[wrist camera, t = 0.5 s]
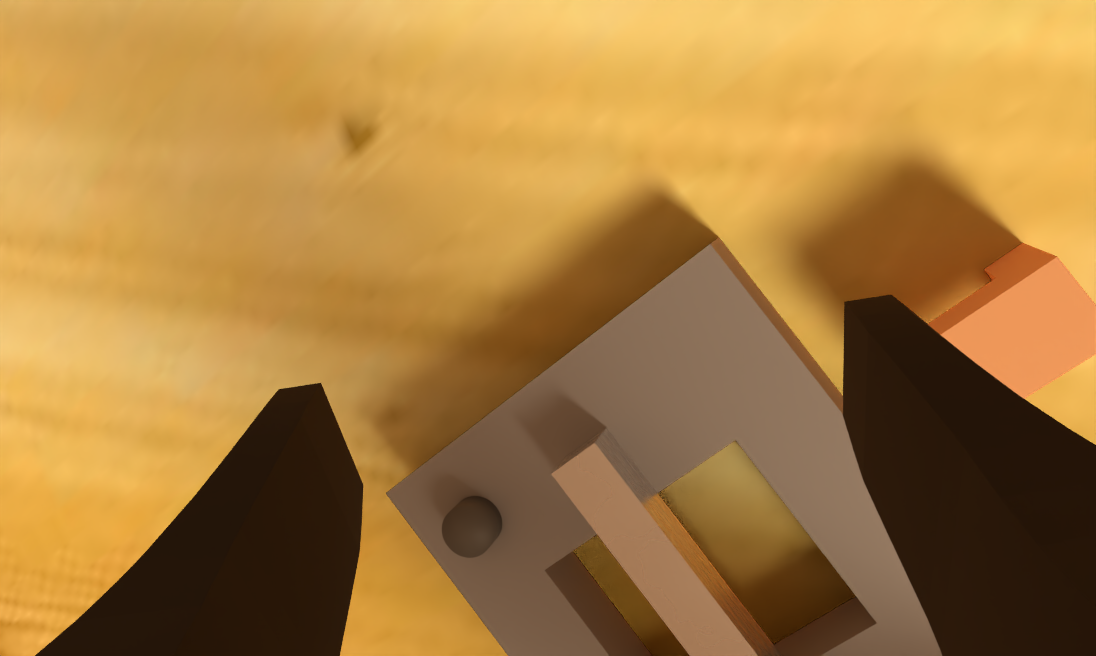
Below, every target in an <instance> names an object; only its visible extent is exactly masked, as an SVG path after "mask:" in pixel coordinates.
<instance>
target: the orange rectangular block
mask: <svg viewBox="0 0 1096 656" xmlns="http://www.w3.org/2000/svg"><path fill="white" fill-rule="evenodd" d="M984 270H985V272H986V273H987V274H988V275H989V277H990V278H991V279H992V281H991V282H989V283H988V284H986V285H985V286H984V287H982V288H981V289H979V290H978V291H976V292H975V293H973V294H972V295H970V296H969V297H967V298H966V299H964V300H963V301H961V302H960V303H958V304H957V305H955V306H954V307H952V308H951V309H949V310H948V311H946V312H945V313H944V314H942V315H941V316H939V317H938V318H936V319H935V320H933V321H932V322H930V323H929V324H928V325H929V326H930V327H932V328H933V329H934V330H935V331H937V332H938V333H939V334H940V335H941V336H943V337H944V338H945V339H946V340H948V341H949V342H950V343H951V344H953V345H954V346H955V347H956V348H957V349H959V350H960V351H961V352H962V353H964V354H965V355H966V356H968V357H969V358H970V359H971V360H973V361H974V362H975V363H976V364H978V365H979V366H980V367H982V368H983V369H984V370H986V371H987V372H988V373H990V374H991V375H992V376H994V377H995V378H996V379H998V380H999V381H1000V382H1002V383H1003V384H1004V385H1006V386H1007V387H1008V388H1010V389H1011V390H1012V391H1014V392H1015V393H1017V394H1018V395H1019V396H1021V397H1022V398H1024V399H1025V398H1026V397H1028V396H1029V395H1031V394H1033V393H1034V392H1036V391H1037V390H1039V389H1041V388H1042V387H1044V386H1045V385H1047V384H1049V383H1050V382H1052V381H1053V380H1055V379H1057V378H1058V377H1060V376H1061V375H1063V374H1065V373H1066V372H1068V371H1069V370H1071V369H1073V368H1074V367H1076V366H1077V365H1079V364H1081V363H1082V362H1084V361H1085V360H1087V359H1089V358H1090V357H1092V356H1093V355H1095V354H1096V305H1095V303H1094V302H1093V301H1092V300H1091V298H1090V297H1089V296H1088V295H1087V293H1086V292H1085V291H1084V290H1083V288H1082V287H1081V286H1080V285H1079V283H1078V282H1077V281H1076V280H1075V278H1074V277H1073V276H1072V274H1071V273H1070V272H1069V271H1068V269H1067V268H1066V267H1065V266H1064V264H1063V263H1062V262H1061V261H1060V259H1059V258H1058V257H1057V256H1054V255H1052V254H1049V253H1047V252H1044V251H1042V250H1039V249H1037V248H1034V247H1032V246H1029V245H1027V244H1024V243H1022V244H1020V245H1019V246H1017V247H1016V248H1014V249H1013V250H1012V251H1010V252H1009V253H1007V254H1006V255H1004V256H1003V257H1001V258H1000V259H998V260H997V261H995V262H994V263H992V264H991V265H990V266H988V267H987V268H985V269H984Z"/></svg>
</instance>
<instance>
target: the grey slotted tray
mask: <svg viewBox="0 0 1096 656" xmlns="http://www.w3.org/2000/svg"><path fill="white" fill-rule="evenodd" d="M735 440H736V441H737V443H738V444H739V445H740V447H741V448H742V449H743V451H744V452H745V453H746V454H747V456H748V457H749V458H750V460H751V461H752V462H753V463H754V465H755V466H756V467H757V469H758V470H759V471H760V473H761V474H762V475H763V476H764V478H765V479H766V480H767V482H768V483H769V484H770V485H771V487H772V488H773V489H774V491H775V492H776V493H777V495H778V496H779V497H780V498H781V500H782V501H783V502H784V504H785V505H786V506H787V507H788V509H789V510H790V511H791V513H792V514H793V515H794V517H795V518H796V519H797V520H798V522H799V523H800V524H801V526H802V527H803V528H804V529H805V531H806V532H807V533H808V535H809V536H810V537H811V539H812V540H813V541H814V542H815V544H816V545H817V546H818V548H819V549H820V550H821V551H822V553H823V554H824V555H825V557H826V558H827V559H828V561H829V562H830V563H831V564H832V566H833V567H834V568H835V570H836V571H837V572H838V573H839V575H840V576H841V577H842V579H843V580H844V581H845V583H846V584H847V585H848V586H849V588H850V589H851V590H852V592H853V593H854V594H855V595H856V597H854V598H852V599H851V600H849V601H847V602H846V603H844V604H842V605H841V606H839V607H837V608H835V609H834V610H832V611H830V612H829V613H827V614H825V615H824V616H822V617H820V618H818V619H817V620H815V621H813V622H812V623H810V624H808V625H806V626H805V627H803V628H801V629H800V630H798V631H796V632H795V633H793V634H791V635H789V636H788V637H786V638H784V639H783V640H781V641H779V642H778V643H776V644H773V643H772V642H771V641H770V639H769V638H768V637H767V635H766V634H765V633H764V631H763V630H762V629H761V628H760V626H759V625H758V624H757V622H756V621H755V620H754V618H753V617H752V616H751V615H750V613H749V612H748V611H747V609H746V608H745V607H744V605H743V604H742V603H741V601H740V600H739V599H738V598H737V596H736V595H735V594H734V592H733V591H732V590H731V588H730V587H729V586H728V585H727V583H726V582H725V581H724V579H723V578H722V577H721V575H720V574H719V573H718V572H717V570H716V569H715V568H714V566H713V565H712V564H711V562H710V561H709V560H708V558H707V557H706V556H705V555H704V553H703V552H702V551H701V549H700V548H699V547H698V545H697V544H696V543H695V542H694V540H693V539H692V538H691V536H690V535H689V534H688V532H687V531H686V530H685V528H684V527H683V526H682V525H681V523H680V522H679V521H678V519H677V518H676V517H675V515H674V514H673V513H672V512H671V510H670V509H669V508H668V506H667V505H666V504H665V502H664V501H663V500H662V499H661V497H660V496H659V495H658V493H659V492H660V491H661V490H663V489H664V488H666V487H667V486H669V485H670V484H672V483H673V482H675V481H676V480H678V479H679V478H681V477H682V476H683V475H685V474H686V473H688V472H689V471H691V470H692V469H694V468H695V467H697V466H698V465H700V464H701V463H703V462H704V461H706V460H707V459H708V458H710V457H711V456H713V455H714V454H716V453H717V452H719V451H720V450H722V449H723V448H725V447H726V446H728V445H729V444H731V443H732V442H733V441H735ZM386 494H387V496H388V497H389V498H390V500H391V501H392V502H393V504H394V505H395V506H396V508H397V509H398V510H399V512H400V513H401V514H402V516H403V517H404V518H405V520H406V521H407V522H408V524H409V525H410V526H411V528H412V529H413V530H414V531H415V533H416V534H417V535H418V537H419V538H420V539H421V541H422V542H423V543H424V545H425V546H426V547H427V549H428V550H429V551H430V553H431V554H432V555H433V557H434V558H435V559H436V561H437V562H438V563H439V565H440V566H441V567H442V569H443V570H444V571H445V573H446V574H447V575H448V577H449V578H450V579H451V580H452V582H453V583H454V584H455V586H456V587H457V588H458V590H459V591H460V592H461V594H462V595H463V596H464V598H465V599H466V600H467V602H468V603H469V604H470V606H471V607H472V608H473V610H474V611H475V612H476V614H477V615H478V616H479V618H480V619H481V620H482V622H483V623H484V624H485V626H486V627H487V628H488V630H489V631H490V632H491V633H492V635H493V636H494V637H495V639H496V640H497V641H498V643H499V644H500V645H501V647H502V648H503V649H504V651H505V652H506V653H507V655H508V656H652V655H651V654H650V652H649V651H648V650H647V648H646V647H645V646H644V644H643V643H642V642H641V641H640V639H639V638H638V637H637V635H636V634H635V633H634V631H633V630H632V629H631V627H630V626H629V625H628V623H627V622H626V621H625V620H624V618H623V617H622V616H621V614H620V613H619V612H618V610H617V609H616V608H615V606H614V605H613V604H612V602H611V601H610V600H609V598H608V597H607V596H606V595H605V593H604V592H603V591H602V589H601V588H600V587H599V585H598V584H597V583H596V581H595V580H594V579H593V577H592V576H591V575H590V574H589V572H588V571H587V570H586V568H585V567H584V566H583V564H582V563H581V562H580V560H579V559H578V558H577V556H576V555H575V554H574V553H573V550H575V549H576V548H578V547H579V546H581V545H582V544H584V543H585V542H587V541H588V540H589V539H591V538H592V537H594V536H595V535H598V536H599V537H600V539H601V540H602V541H603V543H604V544H605V545H606V547H607V548H608V549H609V551H610V552H611V553H612V554H613V556H614V557H615V558H616V560H617V561H618V562H619V564H620V565H621V566H622V568H623V569H624V570H625V572H626V573H627V574H628V575H629V577H630V578H631V579H632V581H633V582H634V583H635V585H636V586H637V587H638V589H639V590H640V591H641V592H642V594H643V595H644V596H645V598H646V599H647V600H648V602H649V603H650V604H651V606H652V607H653V608H654V610H655V611H656V612H657V613H658V615H659V616H660V617H661V619H662V620H663V621H664V623H665V624H666V625H667V627H668V628H669V629H670V630H671V632H672V633H673V634H674V636H675V637H676V638H677V640H678V641H679V642H680V644H681V645H682V646H683V648H684V649H685V650H686V651H687V653H688V654H689V655H690V656H942V653H941V651H940V648H939V646H938V643H937V641H936V639H935V636H934V634H933V631H932V629H931V626H930V624H929V622H928V619H927V617H926V615H925V613H924V611H923V608H922V606H921V604H920V602H919V600H918V598H917V596H916V593H915V591H914V589H913V587H912V585H911V583H910V581H909V579H908V576H907V574H906V572H905V570H904V568H903V566H902V564H901V561H900V559H899V557H898V555H897V553H896V551H895V549H894V546H893V544H892V542H891V540H890V538H889V536H888V534H887V531H886V529H885V527H884V525H883V523H882V521H881V518H880V516H879V514H878V512H877V510H876V508H875V505H874V503H873V501H872V499H871V497H870V494H869V492H868V490H867V488H866V486H865V483H864V481H863V478H862V475H861V472H860V469H859V466H858V463H857V460H856V457H855V454H854V451H853V447H852V444H851V441H850V438H849V434H848V431H847V428H846V424H845V421H844V418H843V396H842V395H841V393H840V392H839V391H838V390H837V388H836V387H835V386H834V384H833V383H832V382H831V381H830V379H829V378H828V377H827V375H826V374H825V373H824V372H823V370H822V369H821V368H820V366H819V365H818V364H817V363H816V361H815V360H814V359H813V357H812V356H811V355H810V354H809V352H808V351H807V350H806V348H805V347H804V346H803V345H802V343H801V342H800V341H799V339H798V338H797V337H796V336H795V334H794V333H793V332H792V330H791V329H790V328H789V327H788V325H787V324H786V323H785V322H784V320H783V319H782V318H781V316H780V315H779V314H778V313H777V311H776V310H775V309H774V307H773V306H772V305H771V304H770V302H769V301H768V300H767V298H766V297H765V296H764V295H763V293H762V292H761V291H760V289H759V288H758V287H757V286H756V284H755V283H754V282H753V280H752V279H751V278H750V277H749V275H748V274H747V273H746V271H745V270H744V269H743V268H742V266H741V265H740V264H739V262H738V261H737V260H736V259H735V257H734V256H733V255H732V253H731V252H730V251H729V250H728V248H727V247H726V246H725V244H724V243H723V242H722V241H721V239H720V238H717V239H716V240H715V241H713V242H712V243H711V244H709V245H708V246H707V247H705V248H704V249H703V250H701V251H700V252H699V253H698V254H696V255H695V256H694V257H692V258H691V259H690V260H688V261H687V262H686V263H685V264H683V265H682V266H681V267H679V268H678V269H677V270H675V271H674V272H673V273H672V274H670V275H669V276H668V277H666V278H665V279H664V280H662V281H661V282H660V283H659V284H657V285H656V286H655V287H653V288H652V289H651V290H649V291H648V292H647V293H646V294H644V295H643V296H642V297H640V298H639V299H638V300H636V301H635V302H634V303H633V304H631V305H630V306H629V307H627V308H626V309H625V310H623V311H622V312H621V313H619V314H618V315H617V316H616V317H614V318H613V319H612V320H610V321H609V322H608V323H606V324H605V325H604V326H603V327H601V328H600V329H599V330H597V331H596V332H595V333H593V334H592V335H591V336H590V337H588V338H587V339H586V340H584V341H583V342H582V343H580V344H579V345H578V346H577V347H575V348H574V349H573V350H571V351H570V352H569V353H567V354H566V355H565V356H564V357H562V358H561V359H560V360H558V361H557V362H556V363H554V364H553V365H552V366H551V367H549V368H548V369H547V370H545V371H544V372H543V373H541V374H540V375H539V376H538V377H536V378H535V379H534V380H532V381H531V382H530V383H528V384H527V385H526V386H525V387H523V388H522V389H521V390H519V391H518V392H517V393H515V394H514V395H513V396H511V397H510V398H509V399H508V400H506V401H505V402H504V403H502V404H501V405H500V406H498V407H497V408H496V409H495V410H493V411H492V412H491V413H489V414H488V415H487V416H485V417H484V418H483V419H482V420H480V421H479V422H478V423H476V424H475V425H474V426H472V427H471V428H470V429H469V430H467V431H466V432H465V433H463V434H462V435H461V436H459V437H458V438H457V439H456V440H454V441H453V442H452V443H450V444H449V445H448V446H446V447H445V448H444V449H443V450H441V451H440V452H439V453H437V454H436V455H435V456H433V457H432V458H431V459H430V460H428V461H427V462H426V463H424V464H423V465H422V466H420V467H419V468H418V469H417V470H415V471H414V472H413V473H411V474H410V475H409V476H407V477H406V478H405V479H403V480H402V481H401V482H400V483H398V484H397V485H396V486H394V487H393V488H392V489H390V490H389V491H388V492H387V493H386Z"/></svg>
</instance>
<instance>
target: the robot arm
mask: <svg viewBox="0 0 1096 656" xmlns="http://www.w3.org/2000/svg"><path fill="white" fill-rule="evenodd" d="M843 418H844V421H845V424H846V428H847V431H848V434H849V438H850V441H851V444H852V447H853V451H854V454H855V457H856V460H857V463H858V466H859V469H860V472H861V475H862V478H863V481H864V483H865V486H866V488H867V490H868V492H869V494H870V497H871V499H872V501H873V503H874V505H875V508H876V510H877V512H878V514H879V516H880V518H881V521H882V523H883V525H884V527H885V529H886V531H887V534H888V536H889V538H890V540H891V542H892V544H893V546H894V549H895V551H896V553H897V555H898V557H899V559H900V561H901V564H902V566H903V568H904V570H905V572H906V574H907V576H908V579H909V581H910V583H911V585H912V587H913V589H914V591H915V593H916V596H917V598H918V600H919V602H920V604H921V606H922V608H923V611H924V613H925V615H926V617H927V619H928V622H929V624H930V626H931V629H932V631H933V634H934V636H935V639H936V641H937V643H938V646H939V648H940V651H941V653H942V656H1096V445H1095V444H1093V443H1091V442H1090V441H1088V440H1086V439H1085V438H1083V437H1082V436H1080V435H1078V434H1077V433H1075V432H1073V431H1072V430H1070V429H1069V428H1067V427H1065V426H1064V425H1062V424H1061V423H1059V422H1058V421H1056V420H1055V419H1053V418H1052V417H1050V416H1049V415H1047V414H1046V413H1044V412H1043V411H1041V410H1040V409H1038V408H1037V407H1035V406H1034V405H1032V404H1031V403H1029V402H1028V401H1026V400H1025V399H1024V398H1022V397H1021V396H1019V395H1018V394H1017V393H1015V392H1014V391H1012V390H1011V389H1010V388H1008V387H1007V386H1006V385H1004V384H1003V383H1002V382H1000V381H999V380H998V379H996V378H995V377H994V376H992V375H991V374H990V373H988V372H987V371H986V370H984V369H983V368H982V367H980V366H979V365H978V364H976V363H975V362H974V361H973V360H971V359H970V358H969V357H968V356H966V355H965V354H964V353H962V352H961V351H960V350H959V349H957V348H956V347H955V346H954V345H953V344H951V343H950V342H949V341H948V340H946V339H945V338H944V337H943V336H941V335H940V334H939V333H938V332H937V331H935V330H934V329H933V328H932V327H930V326H929V325H928V324H927V323H926V322H924V321H923V320H922V319H921V318H920V317H918V316H917V315H916V314H915V313H914V312H912V311H911V310H910V309H909V308H907V307H906V306H905V305H904V304H903V303H901V302H900V301H899V300H898V299H896V298H895V297H894V296H892V295H886V296H879V297H873V298H866V299H860V300H853V301H847V302H845V307H844V371H843ZM362 503H363V483H362V481H361V478H360V476H359V474H358V471H357V469H356V466H355V464H354V462H353V459H352V457H351V454H350V452H349V450H348V447H347V445H346V442H345V440H344V437H343V435H342V433H341V430H340V428H339V425H338V423H337V421H336V418H335V416H334V413H333V411H332V409H331V406H330V404H329V401H328V399H327V396H326V394H325V392H324V389H323V387H322V384H321V383H317V384H310V385H304V386H297V387H291V388H285V389H279V390H278V391H277V392H276V393H275V395H274V396H273V397H272V398H271V399H270V401H269V402H268V403H267V404H266V406H265V407H264V408H263V410H262V411H261V412H260V413H259V415H258V416H257V417H256V419H255V420H254V421H253V422H252V424H251V425H250V426H249V428H248V429H247V430H246V432H245V433H244V434H243V435H242V437H241V438H240V439H239V441H238V442H237V443H236V445H235V446H234V447H233V448H232V450H231V451H230V452H229V454H228V455H227V456H226V457H225V459H224V460H223V461H222V462H221V464H220V465H219V466H218V467H217V469H216V470H215V471H214V472H213V474H212V475H211V476H210V477H209V479H208V480H207V481H206V482H205V484H204V485H203V486H202V487H201V489H200V490H199V491H198V492H197V494H196V495H195V496H194V497H193V498H192V500H191V501H190V502H189V503H188V504H187V505H186V506H185V508H184V509H183V510H182V511H181V512H180V513H179V514H178V516H177V517H176V518H175V519H174V520H173V521H172V522H171V524H170V525H169V526H168V527H167V528H166V529H165V530H164V532H163V533H162V534H161V535H160V536H159V537H158V538H157V540H156V541H155V542H154V543H153V544H152V545H151V546H150V548H149V549H148V550H147V551H146V552H145V553H144V554H143V555H142V556H141V557H140V558H139V560H138V561H137V562H136V563H135V564H134V565H133V566H132V567H131V568H130V569H129V570H128V571H127V572H126V573H125V574H124V575H123V576H122V577H121V578H120V579H119V580H118V581H117V582H116V583H115V584H114V585H113V586H112V587H111V588H110V589H109V590H108V591H107V592H106V593H105V594H104V595H103V596H102V597H101V598H100V599H99V600H97V601H96V602H95V603H94V604H93V605H92V606H91V607H90V608H89V609H88V610H87V611H86V612H85V613H84V614H83V615H82V616H81V617H79V618H78V619H77V620H76V621H75V622H74V623H73V624H72V625H70V626H69V627H68V628H67V629H66V630H65V631H63V632H62V633H61V634H60V635H59V636H58V637H56V638H55V639H54V640H53V641H52V642H51V643H49V644H48V645H47V646H46V647H45V648H44V649H42V650H41V651H40V652H39V653H38V654H36V655H35V656H340V651H341V646H342V641H343V636H344V631H345V626H346V621H347V615H348V610H349V605H350V600H351V595H352V590H353V584H354V579H355V574H356V568H357V563H358V557H359V551H360V539H361V525H362Z"/></svg>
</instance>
